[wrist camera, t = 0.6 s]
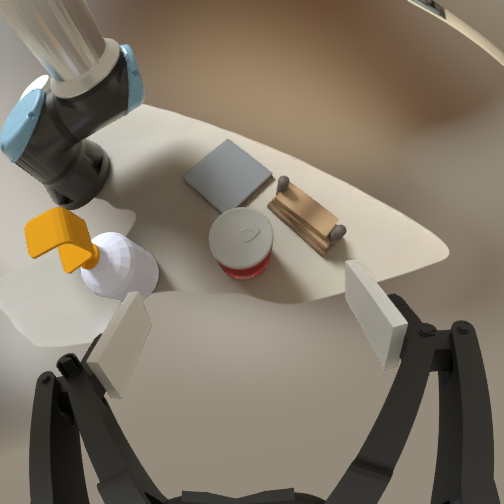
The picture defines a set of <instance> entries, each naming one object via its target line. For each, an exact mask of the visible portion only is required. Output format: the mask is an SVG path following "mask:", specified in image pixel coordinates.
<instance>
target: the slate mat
mask: <svg viewBox="0 0 504 504" xmlns="http://www.w3.org/2000/svg"><path fill="white" fill-rule="evenodd" d="M271 176H272V172H271V171H269V170H268V169H267V168H266V167H264V166H263V165H262V164H260V163H259V162H258V161H257V160H255V159H254V158H253V157H252V156H250V155H249V154H248V153H246V152H245V151H244V150H242V149H241V148H240V147H238V146H237V145H236V144H234V143H233V142H232V141H230V140H229V139H227V140H225V141H224V142H223V143H222V144H221V145H219V146H218V147H217V148H216V149H214V150H213V151H212V152H211V153H210V154H209V155H207V156H206V157H205V158H204V159H203V160H201V161H200V162H199V163H198V164H197V165H196V166H195V167H193V168H192V169H191V170H190V171H189V172H188V173H187V174H186V175H184V176H183V178H184V180H185V181H186V182H187V183H189V184H190V185H191V186H192V187H193V188H194V189H195V190H196V191H197V192H198V193H200V194H201V195H202V196H203V197H204V198H205V199H206V200H207V201H208V202H209V203H210V204H212V205H213V206H214V207H215V208H216V209H217V210H218V211H219V212H220V213H221V214H223V213H224V212H226V211H228V210H230V209H234V208H238V207H239V206H240V205H241V204H243V203H244V202H245V201H246V200H247V199H248V198H249V197H250V196H251V195H252V194H253V193H254V192H255V191H256V190H257V189H258V188H260V187H261V186H262V185H263V184H264V183H265V182H266V181H267V180H268V179H269V178H270V177H271Z"/></svg>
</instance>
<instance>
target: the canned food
mask: <svg viewBox="0 0 504 504" xmlns="http://www.w3.org/2000/svg"><path fill="white" fill-rule="evenodd" d="M272 245H273V230H272V226H271V224H270V222H269V220H268V219H267V218H266V217H265V216H264V215H263V214H262V213H261V212H259V211H257V210H255V209H252V208H246V207H238V208H234V209H230V210H228V211H226V212H224V213H223V214H221V215H220V216H219V217H218V218H217V219H216V220H215V222H214V223H213V224H212V227H211V229H210V232H209V247H210V250H211V253H212V255H213V256H214V258H215V259H216V261H217V262H218V263H219V265H220V266H221V267H222V269H223V270H224V271H225V272H226V273H227V274H228V275H229V276H231V277H233V278H236V279H241V280H244V279H251V278H253V277H256V276H257V275H259V274H260V273H261V272H262V271H263V270H264V269H265V268H266V266H267V264H268V262H269V258H270V254H271V250H272Z"/></svg>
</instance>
